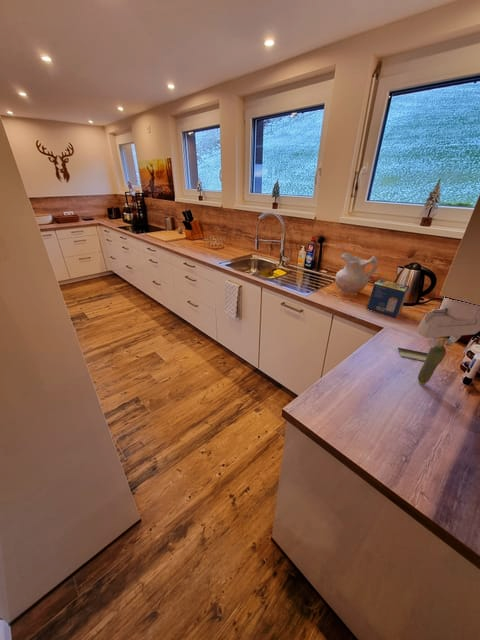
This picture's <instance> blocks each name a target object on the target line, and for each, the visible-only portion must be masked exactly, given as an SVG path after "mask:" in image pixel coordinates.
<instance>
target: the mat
mask: <svg viewBox="0 0 480 640" xmlns="http://www.w3.org/2000/svg"><path fill="white" fill-rule="evenodd" d="M397 349H398V353H399V355H400V357H401V358H405V359H411V360H417V361H421V362H425V360H426V358H427V355H428V353H429V352H423V351H417V350H414V349H407V348H402V347H397Z"/></svg>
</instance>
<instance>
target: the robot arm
mask: <svg viewBox="0 0 480 640" xmlns="http://www.w3.org/2000/svg"><path fill="white" fill-rule="evenodd" d="M421 319H422V320H421V321H420V323H419V324H418V327H417V329H416V332H417V334H418V335H419V336H421V337H423V338H424V339H429V344H428V346H429V347H430V348H431V347H432V348H435V347H437V346H438V344H439V343H438V340H440V338H445V337H446V338H447V337H449V338H448V340H447V343H446V341H445V345H444V346H447V347H453V346H454V344H455V342H457V341H458V340H459V339H461V337H462V336H470V335H472V336H473V335H476V334H478V333H479V332H480V306H478V305H473V304H469V303H465V302H461V301H457V300H452V299H449V298H445V296H444V297H443V299H442V302H441V304H440V305H439V308H432V310H430V311H429V312H426V314H425V315H424V316H423V317H422V318H421Z"/></svg>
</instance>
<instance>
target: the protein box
mask: <svg viewBox="0 0 480 640" xmlns="http://www.w3.org/2000/svg"><path fill="white" fill-rule="evenodd" d="M409 289H410V285H407V284H402V283H397V282H393V281H390V280H386V279H381V278H380V279H378V280H377V281H375V282H374V283H373V286H372V290H371V292H370V296H369V300H368V303H367V305H366V310H367V309H369V310H368V311H370V310H372V311H371V312H374V311H375V312H374V313H377V312H378V313H377V314H380V313H381V315H383V314H384V315H383V316H386V315H387V317H390V318H393V319H396V318H397V317H398V316H399V315H400V314H401V311H402V309H403V306H404V303H405V300H406V298H407V295H408V292H409Z"/></svg>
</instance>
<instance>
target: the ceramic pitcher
mask: <svg viewBox="0 0 480 640" xmlns="http://www.w3.org/2000/svg"><path fill="white" fill-rule="evenodd" d="M340 258H341V260H343V261H344V266H343V268H342V269H340V270H338V271H337V272H336V274H335V284H336V286H337V287H338V291H339V292H340V293H341V294H343V295H346V294H347V295H346V296H356V295H355V294H357V292H361V291H363V290H364V289H365V288H366V287H367V285H368V283H369V282H370V279H371V277H372V276H373V275H374V273H375V272H376V270H377V269H378V266H379V261H378V258H377V256H375V255H372V256H370V258H369V259H361V257H359V256H355V255H354V256H353V255H352V254H351V253H349V252H344V253H343V254H342V255H341V257H340ZM372 263H373V268H372V269H371V270H370V271H369V273H368V274H367V273H365V269H366V266H367V265H369V264H372Z"/></svg>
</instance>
